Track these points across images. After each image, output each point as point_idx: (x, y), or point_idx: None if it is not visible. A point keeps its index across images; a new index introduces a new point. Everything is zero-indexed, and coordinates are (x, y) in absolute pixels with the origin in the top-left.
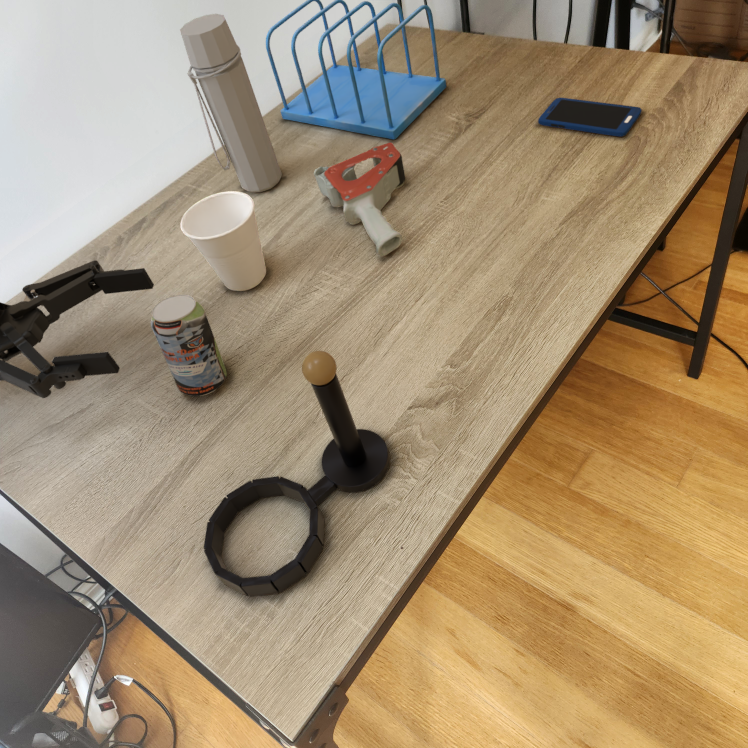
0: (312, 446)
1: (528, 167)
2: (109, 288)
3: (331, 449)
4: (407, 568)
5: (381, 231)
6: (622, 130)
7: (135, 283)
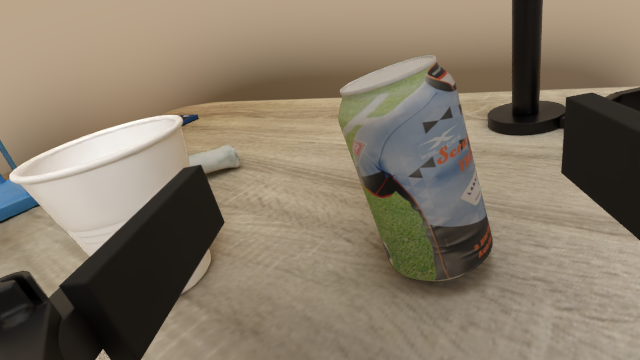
0: (519, 144)
1: (189, 136)
2: (148, 306)
3: (524, 120)
4: (615, 88)
5: (216, 151)
6: (194, 115)
7: (198, 222)
